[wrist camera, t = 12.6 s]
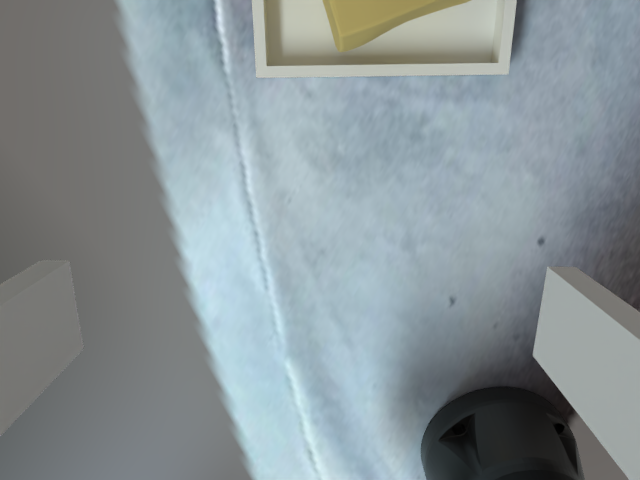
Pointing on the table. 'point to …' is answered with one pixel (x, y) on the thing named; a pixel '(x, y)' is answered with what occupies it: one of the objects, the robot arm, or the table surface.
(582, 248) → the table surface
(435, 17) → the serving tray
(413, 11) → the cheese
